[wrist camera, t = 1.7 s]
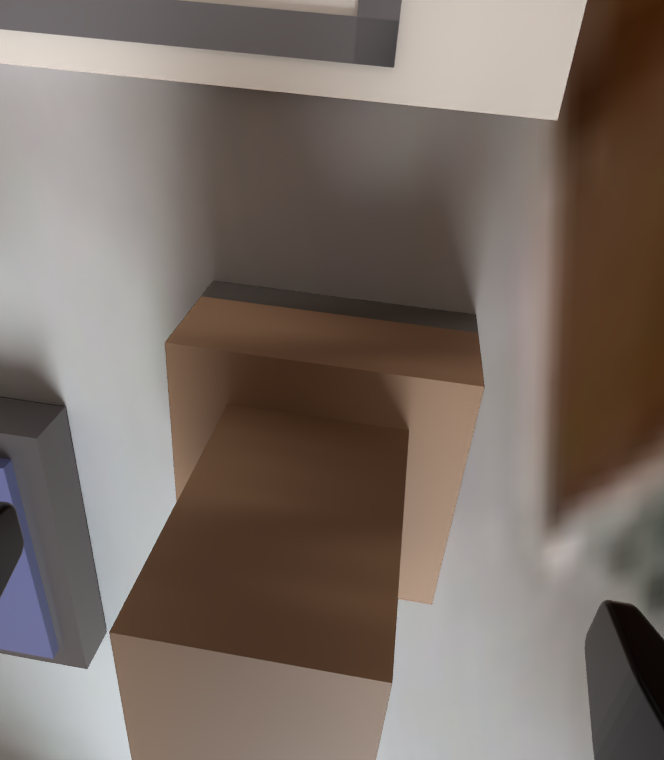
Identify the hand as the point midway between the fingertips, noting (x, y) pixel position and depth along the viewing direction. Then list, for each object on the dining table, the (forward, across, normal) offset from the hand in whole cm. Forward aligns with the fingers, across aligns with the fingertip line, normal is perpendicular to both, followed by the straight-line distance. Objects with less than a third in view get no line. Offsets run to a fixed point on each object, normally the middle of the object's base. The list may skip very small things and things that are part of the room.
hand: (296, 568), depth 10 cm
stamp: (+4, 0, 0) cm, 4 cm away
